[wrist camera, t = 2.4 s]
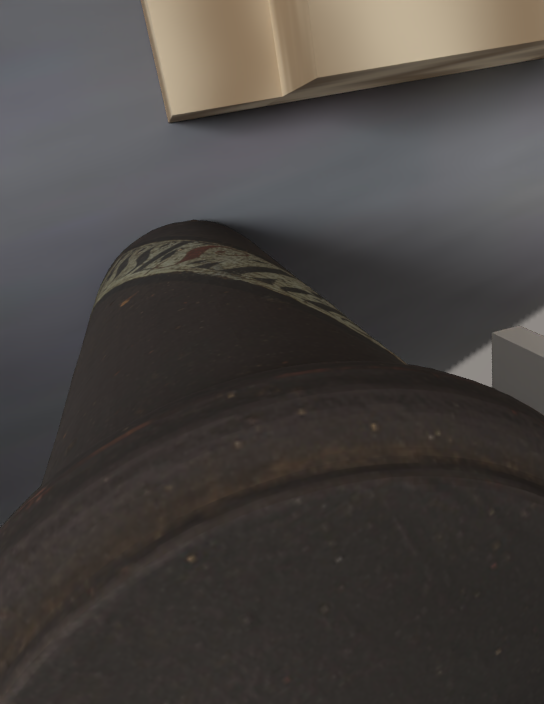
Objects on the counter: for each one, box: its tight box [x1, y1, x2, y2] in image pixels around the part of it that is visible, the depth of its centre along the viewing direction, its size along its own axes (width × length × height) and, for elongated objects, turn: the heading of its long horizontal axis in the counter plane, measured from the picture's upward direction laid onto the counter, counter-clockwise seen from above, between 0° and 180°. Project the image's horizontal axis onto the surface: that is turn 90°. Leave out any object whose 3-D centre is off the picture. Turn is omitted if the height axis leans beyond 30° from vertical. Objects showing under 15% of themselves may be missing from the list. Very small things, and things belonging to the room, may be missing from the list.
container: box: [0, 220, 544, 704], centre depth 14 cm, size 9×9×20 cm
